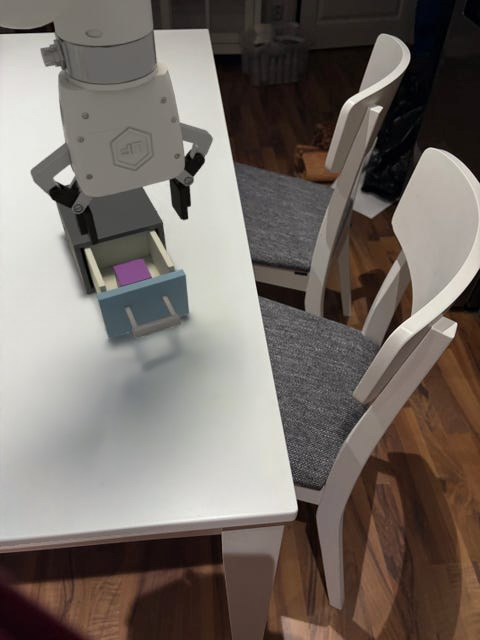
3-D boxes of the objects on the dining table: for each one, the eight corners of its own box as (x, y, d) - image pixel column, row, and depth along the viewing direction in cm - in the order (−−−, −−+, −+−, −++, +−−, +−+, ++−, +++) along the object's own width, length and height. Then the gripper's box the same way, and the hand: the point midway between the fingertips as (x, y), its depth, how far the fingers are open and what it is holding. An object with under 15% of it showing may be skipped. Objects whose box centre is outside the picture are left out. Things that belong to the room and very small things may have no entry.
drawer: (203, 339, 70) (200, 301, 64) (119, 367, 67) (109, 329, 61) (158, 255, 81) (153, 216, 76) (85, 275, 78) (73, 236, 73)
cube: (126, 308, 72) (121, 285, 69) (118, 288, 75) (112, 266, 72) (155, 299, 73) (152, 277, 70) (146, 280, 76) (142, 258, 73)
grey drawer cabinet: (169, 270, 80) (163, 221, 74) (86, 294, 77) (72, 245, 70) (140, 217, 89) (132, 169, 82) (65, 236, 86) (51, 188, 79)
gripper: (6, 91, 38) (62, 270, 50) (225, 53, 43) (227, 223, 56) (-9, 54, 42) (46, 226, 55) (190, 23, 48) (199, 186, 60)
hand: (137, 224), depth 55 cm, fingers open, 9 cm apart
